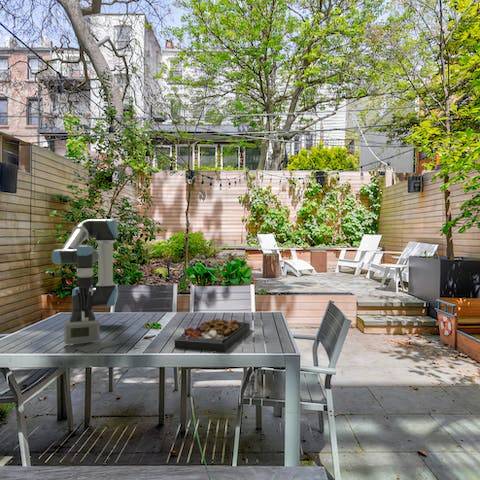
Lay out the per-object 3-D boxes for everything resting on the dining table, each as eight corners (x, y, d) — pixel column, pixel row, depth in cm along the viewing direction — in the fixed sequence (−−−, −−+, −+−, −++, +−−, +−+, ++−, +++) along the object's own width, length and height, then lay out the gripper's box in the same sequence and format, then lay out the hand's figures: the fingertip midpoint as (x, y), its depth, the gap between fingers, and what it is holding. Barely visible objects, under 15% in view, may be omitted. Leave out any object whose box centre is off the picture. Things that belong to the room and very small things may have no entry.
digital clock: (62, 345, 178) (61, 329, 173) (67, 331, 186) (66, 316, 180) (97, 346, 182) (98, 331, 176) (101, 333, 189) (101, 318, 184)
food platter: (223, 353, 166) (223, 330, 166) (174, 349, 173) (174, 327, 173) (249, 330, 209) (249, 312, 209) (209, 328, 216) (209, 310, 216)
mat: (75, 349, 172) (75, 348, 172) (108, 340, 187) (108, 339, 187) (87, 352, 167) (87, 351, 167) (120, 343, 181) (120, 342, 181)
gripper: (70, 276, 184) (70, 323, 184) (85, 277, 176) (85, 326, 176) (84, 275, 190) (84, 321, 190) (99, 276, 183) (99, 324, 182)
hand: (85, 323), depth 183 cm, fingers closed
